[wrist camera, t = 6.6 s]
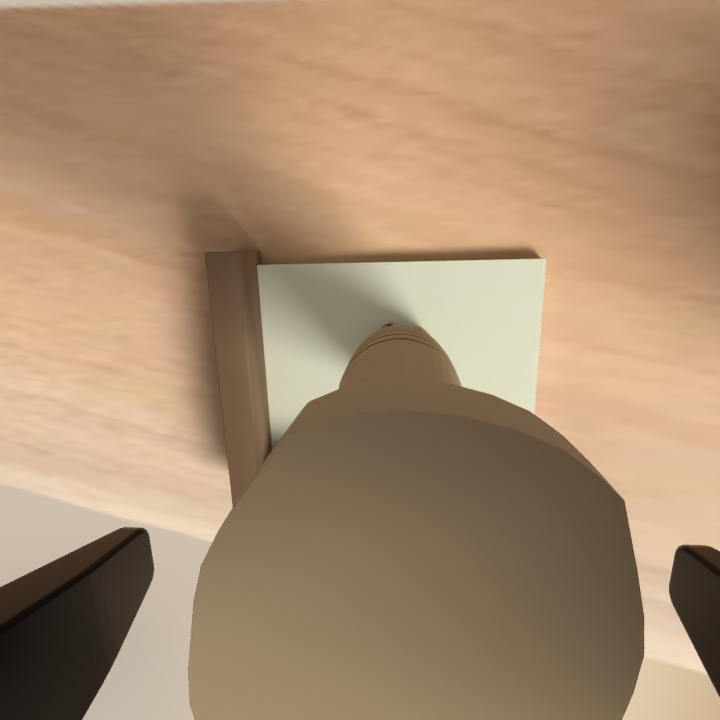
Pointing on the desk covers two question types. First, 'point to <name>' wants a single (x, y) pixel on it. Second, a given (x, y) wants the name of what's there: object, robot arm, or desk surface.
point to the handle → (418, 562)
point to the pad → (399, 323)
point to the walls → (240, 362)
